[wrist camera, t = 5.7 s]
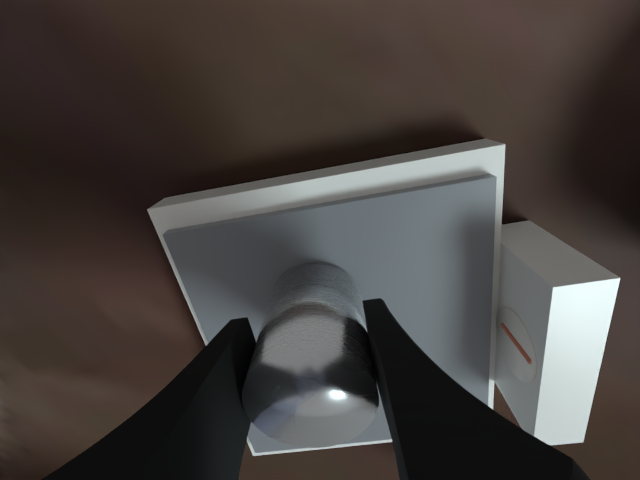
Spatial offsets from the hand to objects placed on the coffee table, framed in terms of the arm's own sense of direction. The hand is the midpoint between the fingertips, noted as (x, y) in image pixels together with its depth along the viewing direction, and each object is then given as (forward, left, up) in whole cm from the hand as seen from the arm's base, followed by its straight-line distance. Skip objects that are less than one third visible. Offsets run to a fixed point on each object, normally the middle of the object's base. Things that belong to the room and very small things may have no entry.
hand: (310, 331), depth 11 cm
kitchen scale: (+1, -4, -5) cm, 6 cm away
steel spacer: (0, -1, -3) cm, 3 cm away
